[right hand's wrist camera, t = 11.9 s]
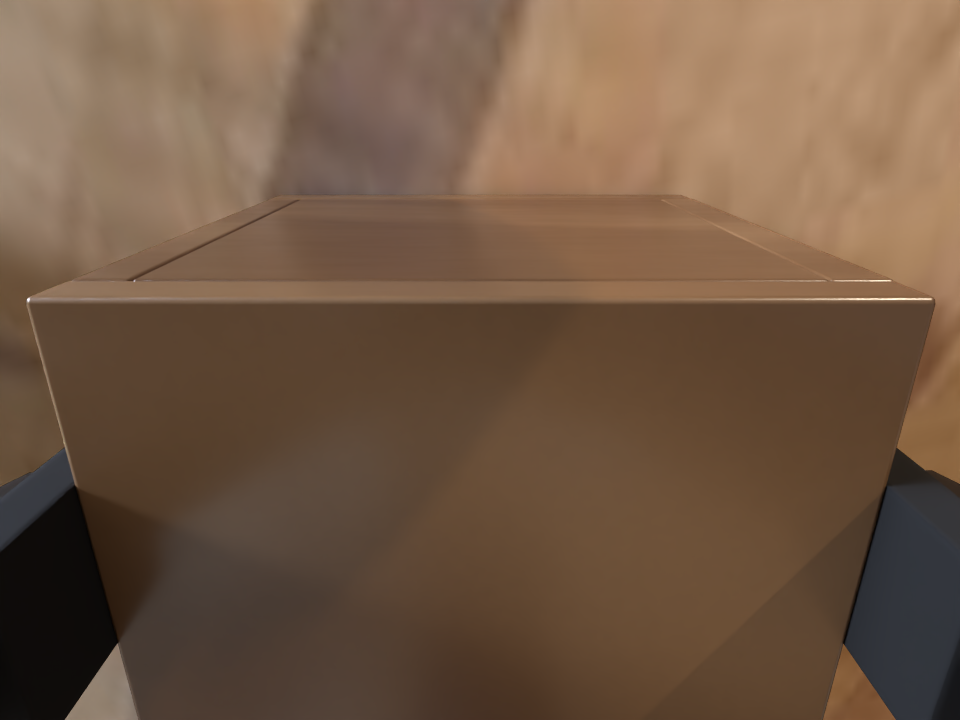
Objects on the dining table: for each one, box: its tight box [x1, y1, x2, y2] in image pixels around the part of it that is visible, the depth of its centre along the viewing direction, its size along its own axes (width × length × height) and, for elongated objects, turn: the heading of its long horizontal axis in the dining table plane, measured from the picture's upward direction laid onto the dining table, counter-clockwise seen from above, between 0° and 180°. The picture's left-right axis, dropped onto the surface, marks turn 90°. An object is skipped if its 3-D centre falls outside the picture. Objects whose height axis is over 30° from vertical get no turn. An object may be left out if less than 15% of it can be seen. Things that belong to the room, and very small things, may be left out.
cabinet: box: [26, 195, 935, 720], centre depth 15 cm, size 16×11×10 cm
